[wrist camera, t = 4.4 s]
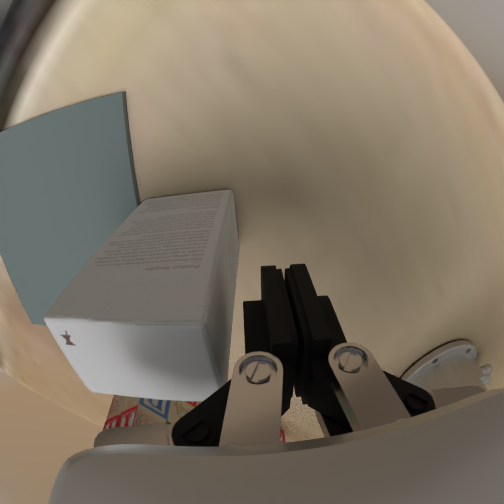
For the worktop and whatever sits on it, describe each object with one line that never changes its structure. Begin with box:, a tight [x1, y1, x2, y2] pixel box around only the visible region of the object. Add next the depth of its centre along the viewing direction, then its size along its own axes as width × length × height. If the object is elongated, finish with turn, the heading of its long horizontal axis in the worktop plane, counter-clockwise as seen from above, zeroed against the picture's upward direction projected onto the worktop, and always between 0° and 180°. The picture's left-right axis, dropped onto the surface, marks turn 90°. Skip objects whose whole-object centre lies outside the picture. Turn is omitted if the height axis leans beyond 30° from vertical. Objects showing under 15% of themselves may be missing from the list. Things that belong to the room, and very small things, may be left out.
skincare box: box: [44, 189, 239, 402], centre depth 14 cm, size 6×4×12 cm
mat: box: [0, 92, 140, 325], centre depth 19 cm, size 15×18×1 cm
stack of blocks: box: [103, 395, 285, 443], centre depth 25 cm, size 21×6×12 cm, turn 40°
